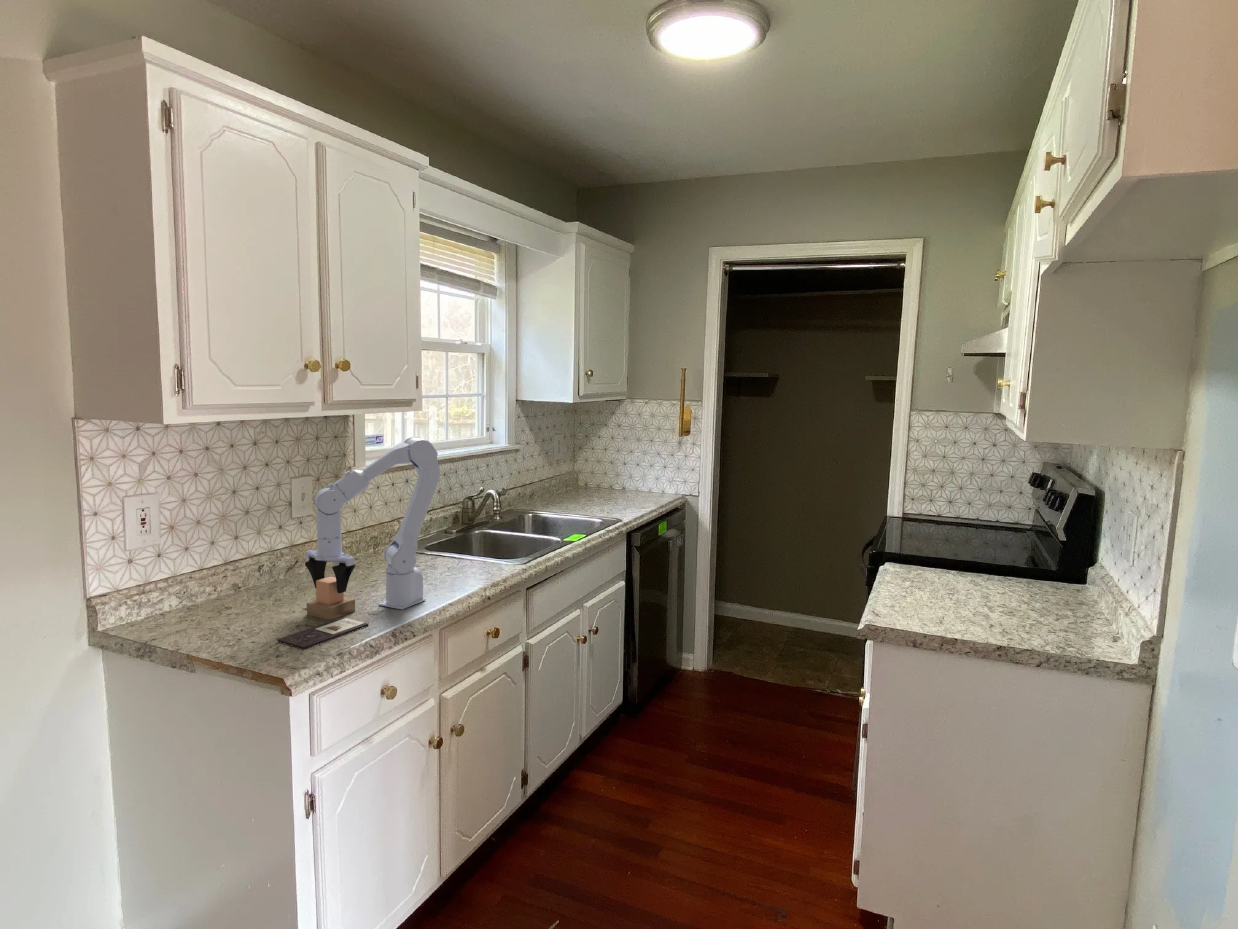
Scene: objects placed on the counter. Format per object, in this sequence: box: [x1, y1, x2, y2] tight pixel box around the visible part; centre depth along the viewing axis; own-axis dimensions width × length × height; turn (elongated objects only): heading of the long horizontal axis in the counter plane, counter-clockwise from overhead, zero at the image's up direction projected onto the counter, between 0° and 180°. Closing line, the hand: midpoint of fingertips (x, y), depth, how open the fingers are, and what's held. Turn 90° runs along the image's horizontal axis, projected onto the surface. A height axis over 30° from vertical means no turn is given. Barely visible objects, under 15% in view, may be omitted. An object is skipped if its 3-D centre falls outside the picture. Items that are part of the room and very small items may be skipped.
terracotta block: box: [315, 576, 345, 605], centre depth 184 cm, size 4×4×6 cm
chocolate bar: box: [276, 616, 369, 651], centre depth 170 cm, size 9×1×18 cm
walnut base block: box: [306, 596, 356, 621], centre depth 185 cm, size 8×8×4 cm
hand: (330, 590), depth 184 cm, fingers open, 7 cm apart
